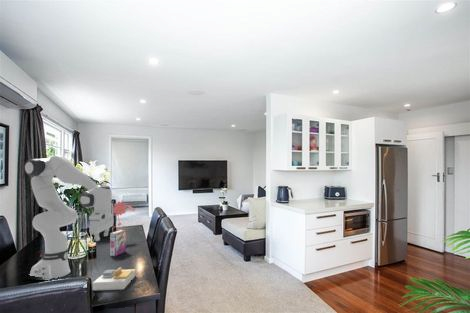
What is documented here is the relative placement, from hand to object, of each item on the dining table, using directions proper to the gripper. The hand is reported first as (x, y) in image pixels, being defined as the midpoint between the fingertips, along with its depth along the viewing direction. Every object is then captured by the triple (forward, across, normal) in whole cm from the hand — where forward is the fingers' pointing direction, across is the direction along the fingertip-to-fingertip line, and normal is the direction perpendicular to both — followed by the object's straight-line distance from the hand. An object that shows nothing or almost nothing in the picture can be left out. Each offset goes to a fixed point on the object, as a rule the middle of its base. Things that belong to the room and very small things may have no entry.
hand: (101, 238), depth 147 cm
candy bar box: (+25, -45, -10) cm, 53 cm away
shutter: (+19, +5, +15) cm, 24 cm away
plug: (+23, +5, +7) cm, 25 cm away
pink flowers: (+26, -79, -22) cm, 86 cm away
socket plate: (+23, +5, +10) cm, 26 cm away
